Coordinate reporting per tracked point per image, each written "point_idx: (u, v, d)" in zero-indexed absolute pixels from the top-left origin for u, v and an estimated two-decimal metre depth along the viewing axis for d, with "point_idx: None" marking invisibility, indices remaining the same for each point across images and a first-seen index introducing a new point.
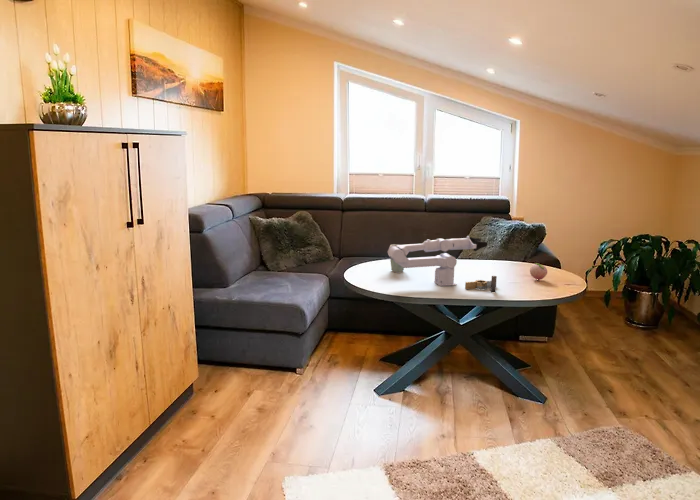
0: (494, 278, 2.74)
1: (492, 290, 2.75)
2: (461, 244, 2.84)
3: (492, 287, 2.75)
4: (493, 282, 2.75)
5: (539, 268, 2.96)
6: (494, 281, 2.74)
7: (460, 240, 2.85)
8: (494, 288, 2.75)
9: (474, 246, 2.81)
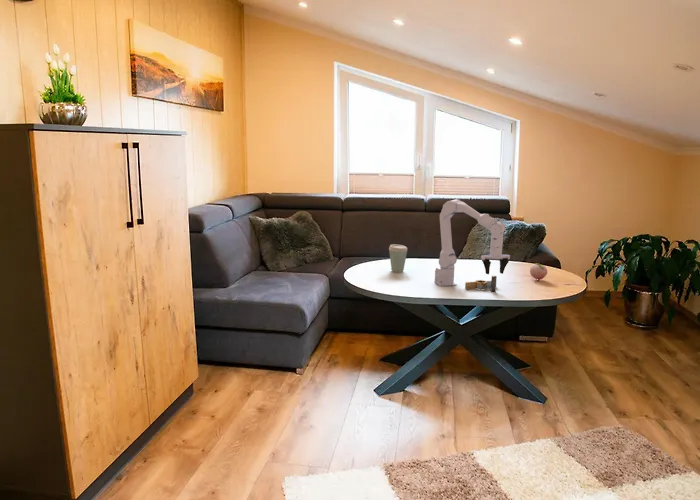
0: (494, 278, 2.74)
1: (492, 290, 2.75)
2: (491, 247, 2.71)
3: (492, 287, 2.75)
4: (493, 282, 2.75)
5: (539, 268, 2.96)
6: (494, 281, 2.74)
7: (495, 247, 2.69)
8: (494, 288, 2.75)
9: (482, 257, 2.71)
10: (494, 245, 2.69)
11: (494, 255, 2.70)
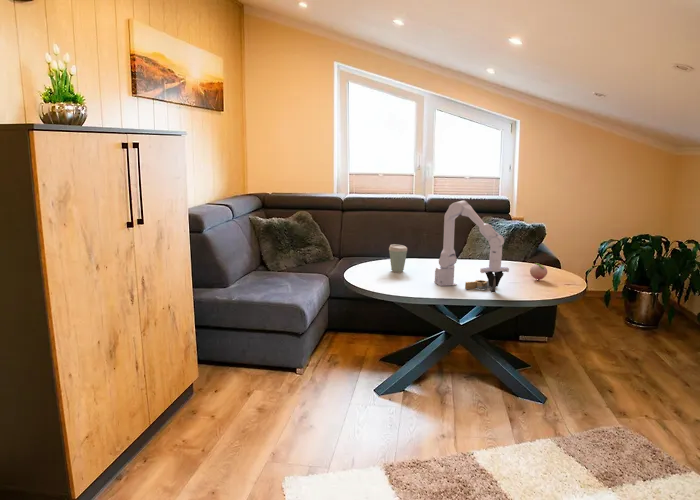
0: (494, 278, 2.74)
1: (492, 290, 2.75)
2: (490, 260, 2.72)
3: (492, 287, 2.75)
4: (493, 282, 2.75)
5: (539, 268, 2.96)
6: (494, 281, 2.74)
7: (494, 260, 2.71)
8: (494, 288, 2.75)
9: (481, 270, 2.73)
10: (493, 258, 2.71)
11: (493, 268, 2.72)
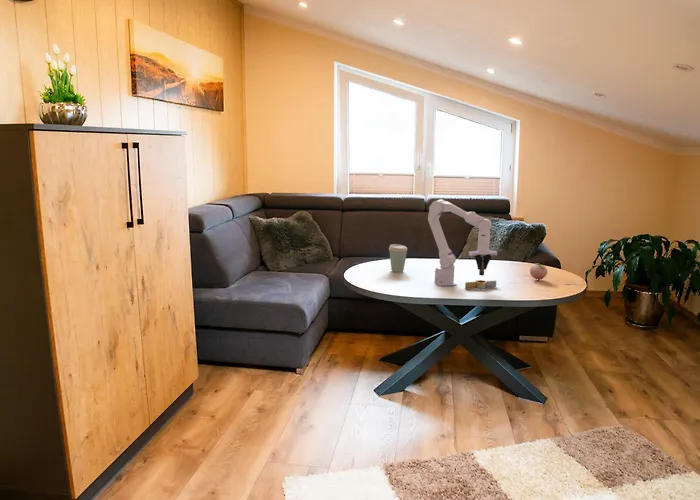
0: (482, 261, 2.79)
1: (480, 273, 2.80)
2: (478, 243, 2.77)
3: (480, 270, 2.80)
4: (481, 265, 2.80)
5: (539, 268, 2.96)
6: (482, 264, 2.79)
7: (482, 243, 2.76)
8: (483, 271, 2.80)
9: (469, 253, 2.78)
10: (482, 241, 2.76)
11: (481, 251, 2.77)
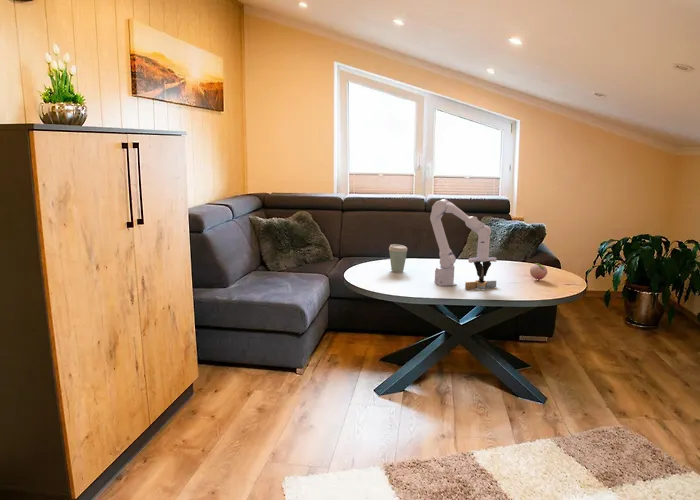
0: (482, 268, 2.80)
1: (480, 279, 2.81)
2: (478, 250, 2.78)
3: (480, 277, 2.81)
4: (481, 272, 2.80)
5: (539, 268, 2.96)
6: (482, 270, 2.80)
7: (482, 250, 2.76)
8: (482, 278, 2.81)
9: (469, 260, 2.78)
10: (482, 248, 2.76)
11: (481, 258, 2.77)
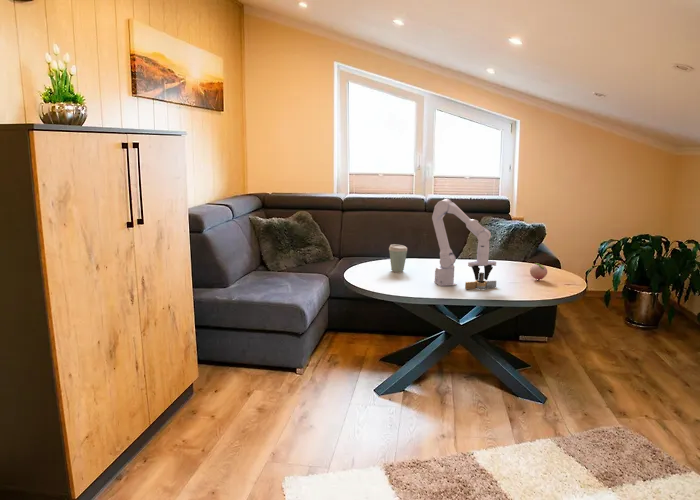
0: (481, 275, 2.80)
1: None
2: (478, 254, 2.78)
3: None
4: (480, 278, 2.81)
5: (539, 268, 2.96)
6: (481, 277, 2.81)
7: (481, 254, 2.77)
8: None
9: (469, 264, 2.79)
10: (481, 252, 2.77)
11: (481, 262, 2.78)
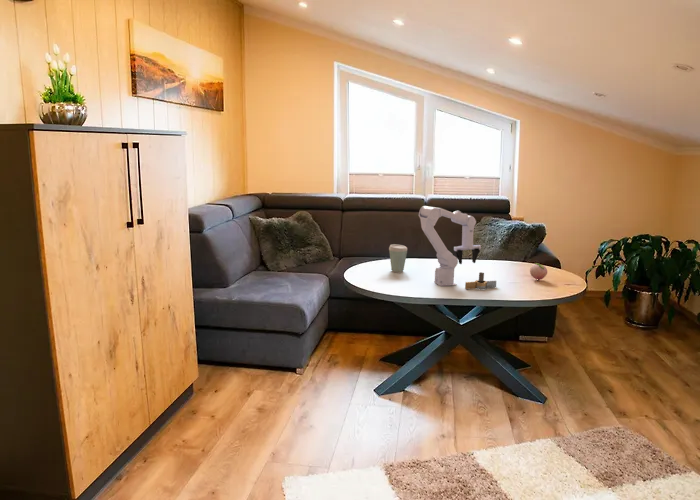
0: (481, 275, 2.80)
1: None
2: (463, 238, 2.90)
3: None
4: (480, 278, 2.81)
5: (539, 268, 2.96)
6: (481, 277, 2.81)
7: (466, 238, 2.88)
8: None
9: (454, 248, 2.91)
10: (471, 237, 2.88)
11: (465, 246, 2.89)
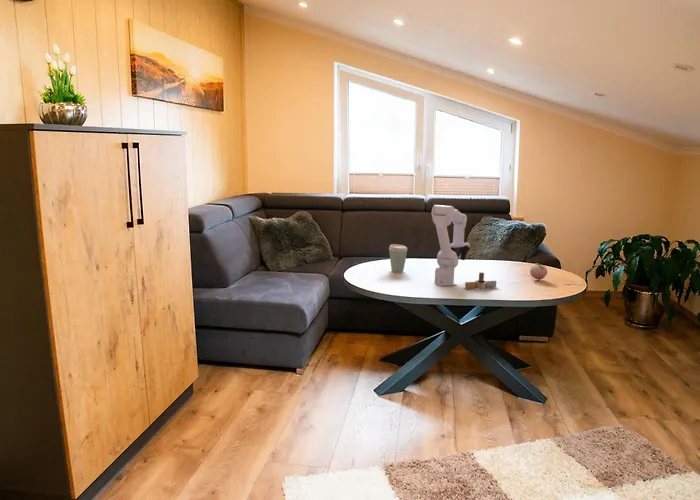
0: (481, 275, 2.80)
1: None
2: (455, 236, 2.96)
3: None
4: (480, 278, 2.81)
5: (539, 268, 2.96)
6: (481, 277, 2.81)
7: (458, 236, 2.95)
8: None
9: None
10: (463, 234, 2.96)
11: (458, 243, 2.95)
